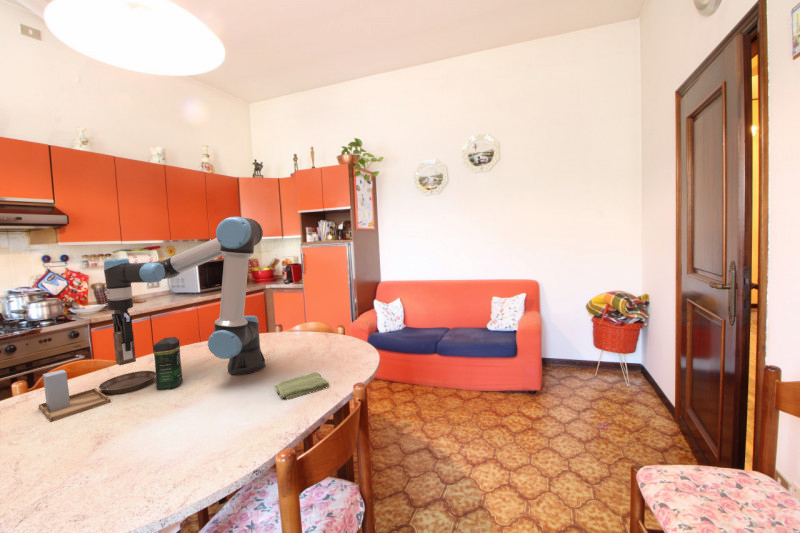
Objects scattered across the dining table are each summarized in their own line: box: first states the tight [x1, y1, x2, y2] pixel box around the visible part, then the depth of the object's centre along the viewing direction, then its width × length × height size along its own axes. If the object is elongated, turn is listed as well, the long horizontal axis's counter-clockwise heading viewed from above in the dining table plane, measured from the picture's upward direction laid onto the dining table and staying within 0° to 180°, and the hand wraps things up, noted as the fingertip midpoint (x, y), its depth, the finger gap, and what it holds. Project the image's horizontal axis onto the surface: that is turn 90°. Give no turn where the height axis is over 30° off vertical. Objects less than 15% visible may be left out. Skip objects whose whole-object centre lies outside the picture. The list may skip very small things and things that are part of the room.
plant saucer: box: [98, 370, 156, 395], centre depth 135 cm, size 18×18×3 cm
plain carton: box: [42, 369, 70, 412], centre depth 118 cm, size 4×5×12 cm
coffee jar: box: [152, 336, 183, 391], centre depth 134 cm, size 10×8×19 cm
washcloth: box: [274, 371, 330, 400], centre depth 128 cm, size 13×18×3 cm
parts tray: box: [38, 388, 112, 423], centre depth 120 cm, size 17×15×2 cm
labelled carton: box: [112, 331, 137, 366], centre depth 134 cm, size 4×5×12 cm
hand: (125, 357), depth 134 cm, fingers closed on labelled carton, 4 cm apart
